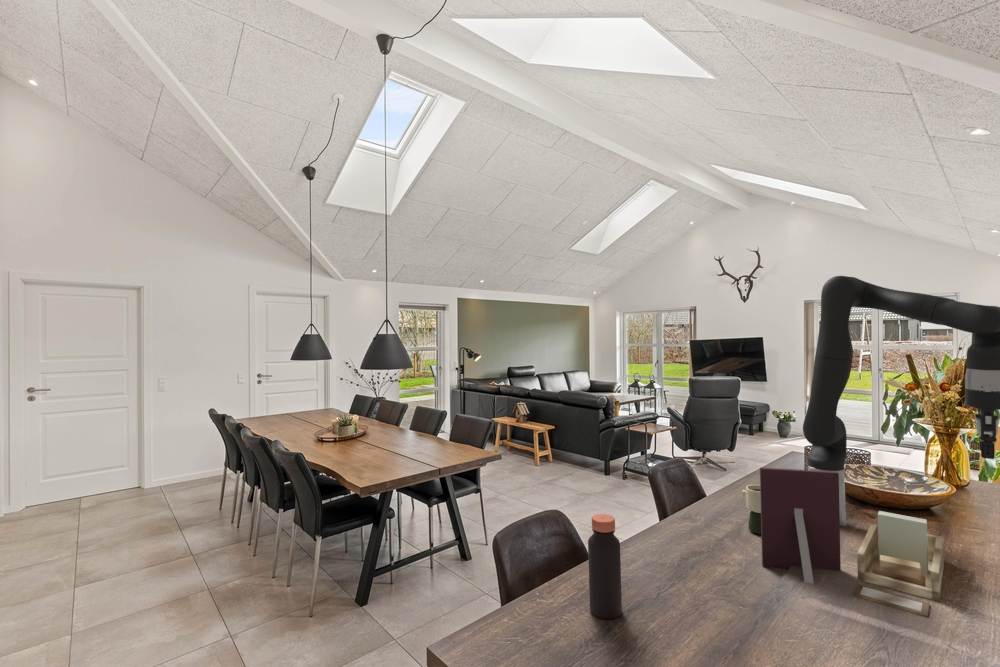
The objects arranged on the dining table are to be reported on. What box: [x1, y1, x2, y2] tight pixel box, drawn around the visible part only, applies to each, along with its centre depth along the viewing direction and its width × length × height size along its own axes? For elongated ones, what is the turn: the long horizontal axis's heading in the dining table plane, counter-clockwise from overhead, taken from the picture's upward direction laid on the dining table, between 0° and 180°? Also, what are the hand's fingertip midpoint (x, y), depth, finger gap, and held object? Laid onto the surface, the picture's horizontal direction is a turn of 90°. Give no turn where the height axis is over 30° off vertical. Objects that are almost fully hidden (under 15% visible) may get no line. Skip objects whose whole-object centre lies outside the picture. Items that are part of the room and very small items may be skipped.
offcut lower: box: [872, 563, 926, 587], centre depth 109 cm, size 9×4×2 cm, turn 45°
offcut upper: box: [880, 555, 921, 580], centre depth 109 cm, size 7×3×2 cm, turn 51°
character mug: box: [741, 484, 761, 535], centre depth 141 cm, size 11×7×13 cm, turn 30°
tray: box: [856, 522, 945, 602], centre depth 115 cm, size 14×24×7 cm, turn 135°
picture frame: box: [759, 467, 842, 585], centre depth 114 cm, size 17×10×25 cm, turn 71°
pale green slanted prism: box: [877, 510, 928, 575], centre depth 116 cm, size 9×3×12 cm, turn 45°
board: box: [853, 583, 930, 618], centre depth 102 cm, size 12×6×2 cm, turn 45°
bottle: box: [587, 513, 623, 620], centre depth 103 cm, size 7×7×20 cm
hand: (986, 454), depth 116 cm, fingers open, 8 cm apart
